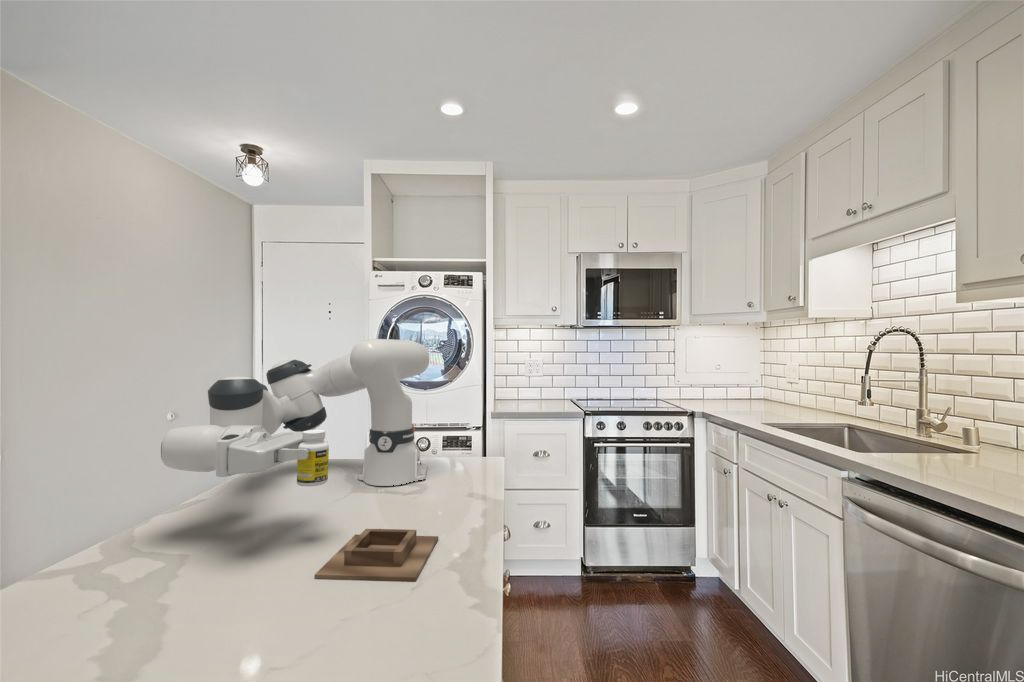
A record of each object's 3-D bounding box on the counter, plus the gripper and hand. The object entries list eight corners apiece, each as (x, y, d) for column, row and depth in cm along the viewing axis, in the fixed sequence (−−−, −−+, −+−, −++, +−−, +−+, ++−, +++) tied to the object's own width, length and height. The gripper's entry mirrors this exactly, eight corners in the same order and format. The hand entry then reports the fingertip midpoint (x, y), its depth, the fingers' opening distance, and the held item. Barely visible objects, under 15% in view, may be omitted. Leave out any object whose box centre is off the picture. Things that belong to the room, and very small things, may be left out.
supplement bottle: (316, 488, 84) (317, 434, 84) (290, 486, 85) (291, 432, 86) (334, 480, 90) (334, 429, 90) (309, 478, 91) (309, 428, 91)
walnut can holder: (355, 537, 88) (355, 521, 88) (438, 539, 87) (438, 523, 87) (314, 578, 72) (314, 559, 72) (415, 581, 71) (415, 561, 71)
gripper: (278, 453, 99) (341, 454, 98) (209, 479, 78) (288, 481, 77) (278, 423, 99) (341, 424, 98) (210, 442, 78) (289, 443, 78)
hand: (317, 449), depth 88 cm, fingers closed on supplement bottle, 5 cm apart
